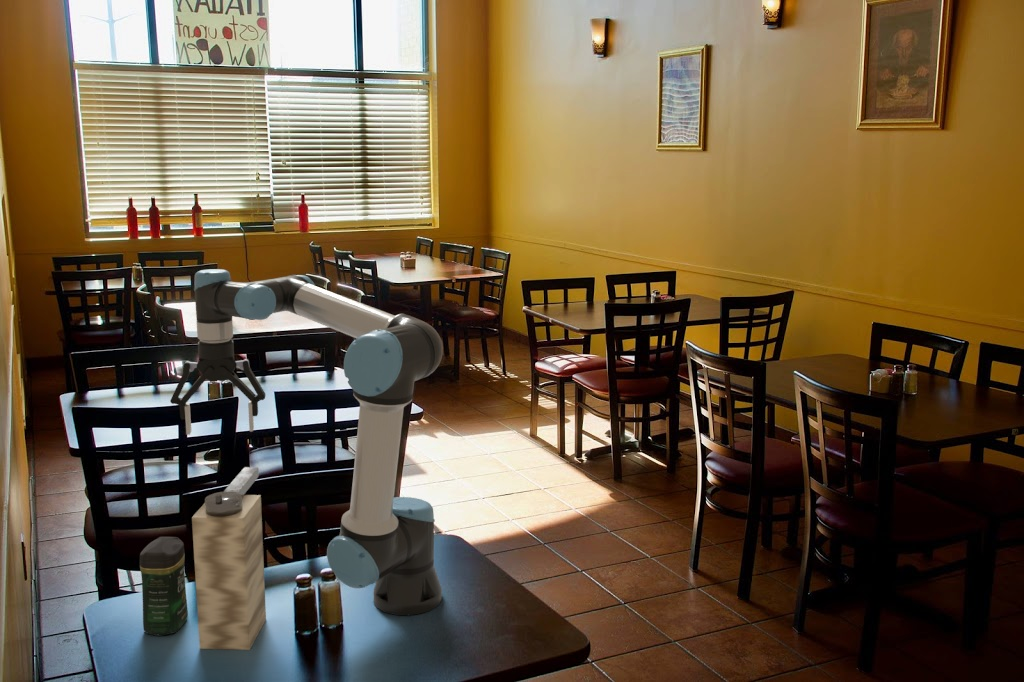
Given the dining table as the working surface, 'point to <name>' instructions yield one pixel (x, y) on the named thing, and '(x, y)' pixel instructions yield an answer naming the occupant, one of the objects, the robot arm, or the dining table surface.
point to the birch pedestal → (229, 576)
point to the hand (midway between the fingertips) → (220, 431)
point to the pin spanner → (231, 494)
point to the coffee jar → (163, 586)
